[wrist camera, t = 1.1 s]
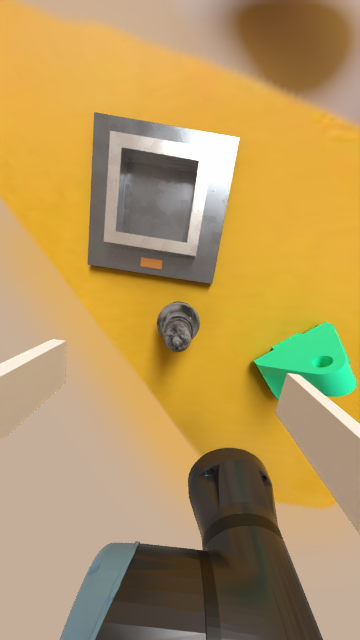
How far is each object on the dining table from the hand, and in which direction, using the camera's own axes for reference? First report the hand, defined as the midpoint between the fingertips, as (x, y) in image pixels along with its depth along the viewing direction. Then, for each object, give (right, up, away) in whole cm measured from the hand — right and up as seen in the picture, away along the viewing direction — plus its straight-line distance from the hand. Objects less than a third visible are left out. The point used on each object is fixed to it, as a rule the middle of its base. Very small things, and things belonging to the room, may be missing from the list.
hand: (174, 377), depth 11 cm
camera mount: (+19, -3, +20) cm, 27 cm away
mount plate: (-3, +19, +15) cm, 24 cm away
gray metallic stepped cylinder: (0, +4, +18) cm, 19 cm away
